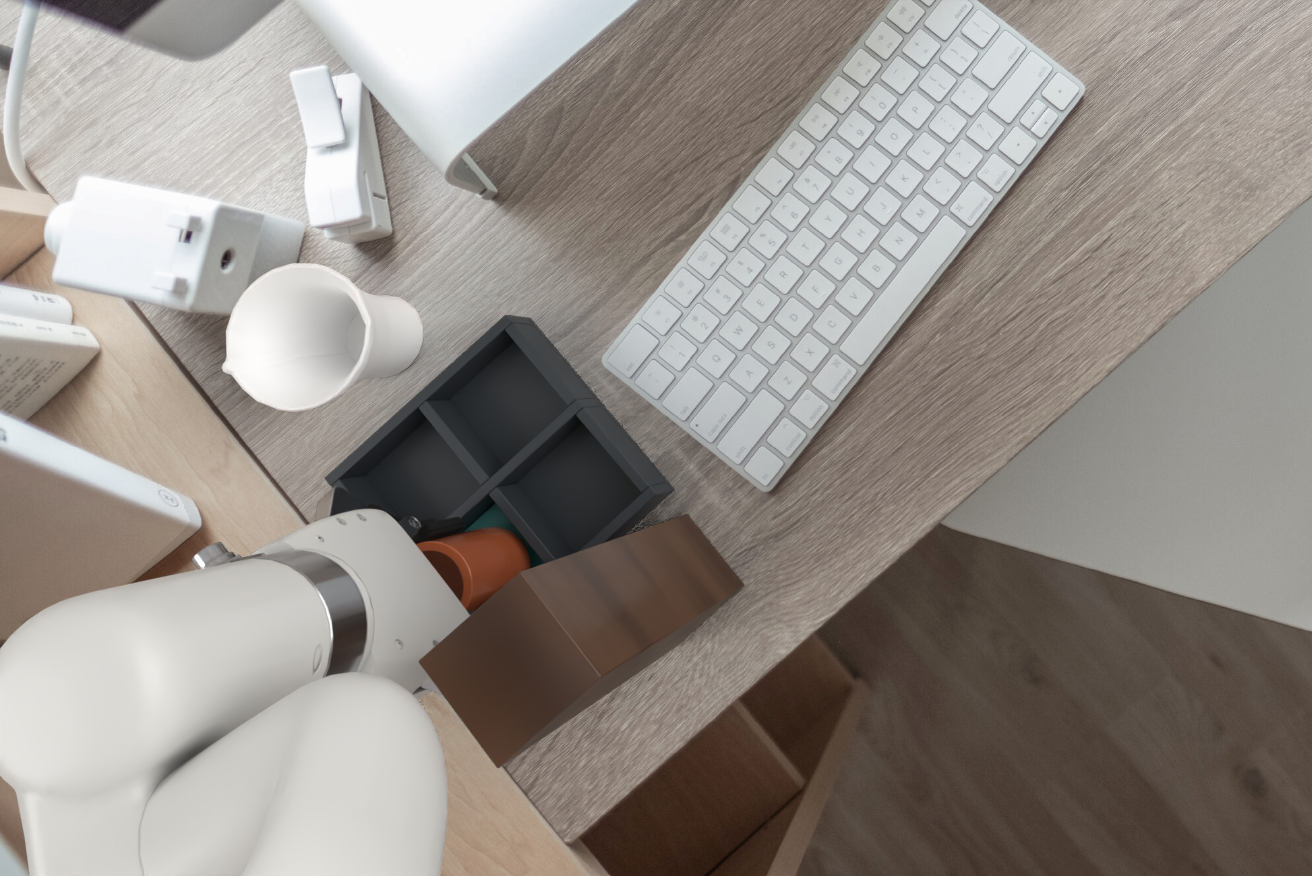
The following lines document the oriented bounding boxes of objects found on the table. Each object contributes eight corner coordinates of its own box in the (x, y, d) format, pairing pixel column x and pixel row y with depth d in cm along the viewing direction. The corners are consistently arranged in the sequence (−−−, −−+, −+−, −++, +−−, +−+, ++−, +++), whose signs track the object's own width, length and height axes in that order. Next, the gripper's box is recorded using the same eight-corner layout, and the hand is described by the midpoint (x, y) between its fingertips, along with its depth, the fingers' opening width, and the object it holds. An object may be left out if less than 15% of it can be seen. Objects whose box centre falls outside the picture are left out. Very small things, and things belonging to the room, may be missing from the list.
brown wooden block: (674, 648, 75) (497, 769, 52) (617, 575, 76) (416, 661, 52) (745, 585, 76) (601, 677, 52) (687, 513, 76) (520, 571, 53)
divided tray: (675, 489, 77) (656, 494, 73) (498, 652, 76) (470, 665, 72) (530, 317, 79) (505, 314, 75) (357, 473, 78) (323, 478, 75)
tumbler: (518, 619, 74) (456, 645, 66) (441, 599, 74) (371, 623, 67) (540, 536, 75) (482, 553, 67) (464, 517, 75) (398, 532, 68)
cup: (304, 306, 80) (197, 295, 70) (431, 257, 80) (342, 239, 70) (339, 430, 79) (236, 436, 69) (468, 379, 79) (384, 379, 69)
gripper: (112, 549, 55) (344, 509, 73) (324, 841, 53) (511, 726, 71) (235, 441, 56) (436, 427, 74) (451, 726, 53) (605, 640, 71)
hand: (471, 574), depth 72 cm, fingers closed on tumbler, 5 cm apart
